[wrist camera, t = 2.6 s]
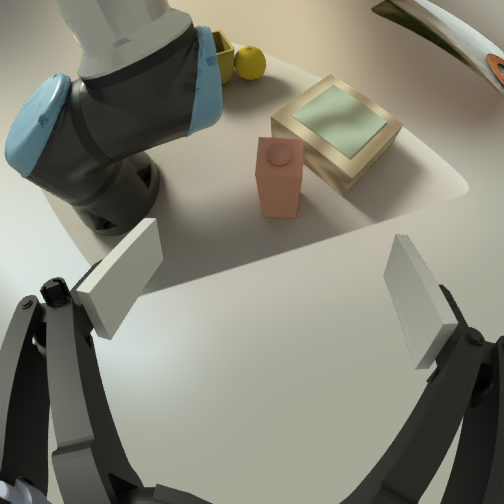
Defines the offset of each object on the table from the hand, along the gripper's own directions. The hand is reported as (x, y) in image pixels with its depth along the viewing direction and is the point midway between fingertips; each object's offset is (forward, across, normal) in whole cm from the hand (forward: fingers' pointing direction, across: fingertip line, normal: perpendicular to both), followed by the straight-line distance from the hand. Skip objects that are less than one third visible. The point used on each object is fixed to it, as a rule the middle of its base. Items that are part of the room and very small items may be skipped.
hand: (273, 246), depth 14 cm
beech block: (+32, +8, +1) cm, 33 cm away
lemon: (+41, -7, +12) cm, 43 cm away
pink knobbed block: (+23, 0, -7) cm, 24 cm away
